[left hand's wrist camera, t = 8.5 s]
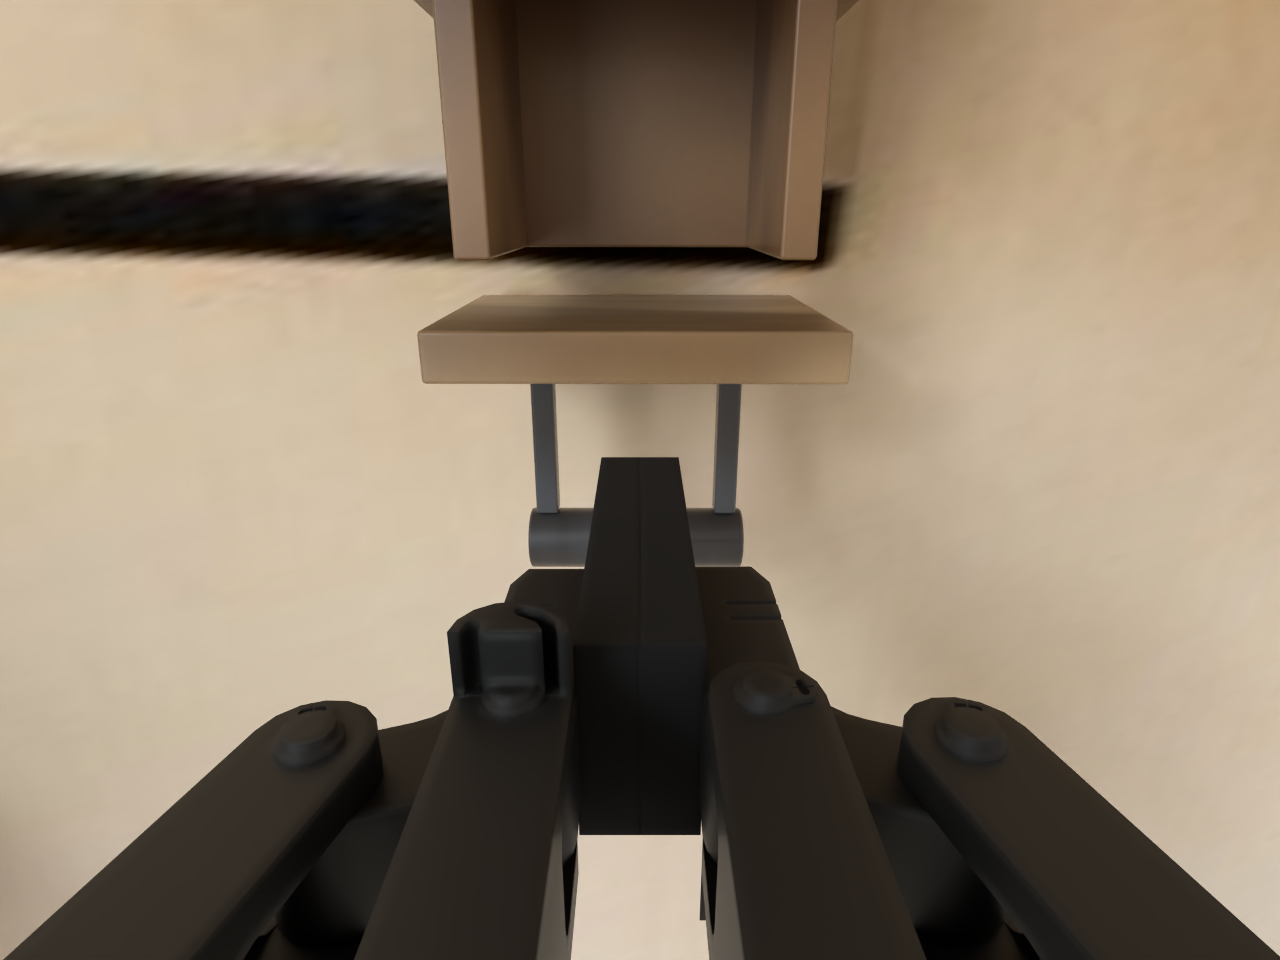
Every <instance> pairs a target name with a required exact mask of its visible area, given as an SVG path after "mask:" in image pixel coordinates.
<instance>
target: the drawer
mask: <svg viewBox="0 0 1280 960" xmlns="http://www.w3.org/2000/svg"><path fill="white" fill-rule="evenodd" d="M432 2H433V14H434V26H435V38H436V50H437V62H438V73H439V85H440V97H441V109H442V121H443V133H444V145H445V157H446V169H447V181H448V193H449V205H450V217H451V229H452V240H453V252H454V258H455V259H457V260H488V259H491V258H494V257H497V256H500V255H503V254H506V253H509V252H512V251H515V250H518V249H521V248H524V247H749V248H752V249H754V250H757V251H760V252H763V253H765V254H768V255H771V256H774V257H776V258H779V259H782V260H814V259H815V258H816V256H817V244H818V232H819V220H820V207H821V195H822V183H823V170H824V158H825V146H826V133H827V121H828V109H829V96H830V84H831V72H832V60H833V47H834V35H835V23H836V10H837V0H432ZM417 336H418V345H419V355H420V365H421V374H422V381H423V383H426V384H530V385H531V404H532V423H533V443H534V462H535V481H536V500H537V508H534V509H532V512H531V515H530V522H529V556H530V562H531V564H532V566H534V567H585V562H586V555H587V549H588V542H589V536H590V529H591V523H592V516H593V510H594V508H559V506H560V495H559V470H558V445H557V420H556V395H555V384H717V400H716V426H715V452H714V478H713V504H712V505H713V508H686V510H687V516H688V523H689V529H690V536H691V542H692V549H693V555H694V562H695V567H739V566H740V565H741V562H742V557H743V521H742V514H741V511H740V509H738V508H735V504H736V484H737V464H738V444H739V424H740V404H741V384H846V383H847V382H848V380H849V371H850V361H851V351H852V341H853V333H852V332H851V331H849V330H848V329H846V328H844V327H843V326H841V325H839V324H838V323H836V322H834V321H832V320H831V319H829V318H827V317H826V316H824V315H822V314H820V313H819V312H817V311H815V310H814V309H812V308H810V307H808V306H807V305H805V304H803V303H802V302H800V301H798V300H797V299H795V298H793V297H791V296H789V295H483V296H481V297H480V298H478V299H476V300H474V301H472V302H471V303H469V304H467V305H465V306H463V307H462V308H460V309H458V310H456V311H454V312H453V313H451V314H449V315H447V316H445V317H444V318H442V319H440V320H438V321H437V322H435V323H433V324H431V325H429V326H428V327H426V328H424V329H422V330H420V331H419V332H418V334H417Z"/></svg>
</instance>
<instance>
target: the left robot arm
mask: <svg viewBox="0 0 1280 960" xmlns="http://www.w3.org/2000/svg"><path fill="white" fill-rule="evenodd" d="M447 636H448V646H449V655H450V665H451V674H452V684H453V693H454V697H453V699H452V702H451V705H450V707H449V710H447V711H445V712H443V713H441V714H438V715H436V716H434V717H431V718H428V719H425V720H421V721H418V722H414V723H410V724H405V725H401V726H396V727H391V728H387V729H382V730H378V727H377V720H376V718H375V717H374V716H373V714H372V713H371V712H370V711H369V710H368V709H367V708H366V707H364V706H361V705H358V704H355V703H352V702H350V701H321V702H315V703H310V704H306V705H302V706H299V707H296V708H294V709H292V710H289V711H287V712H284V713H282V714H280V715H277V716H275V717H274V718H273V719H271V720H270V721H268V722H267V723H265V724H264V725H262V726H261V727H260V728H258V729H257V730H255V731H254V732H253V733H252V734H251V735H250V736H249V737H248V738H247V739H245V740H244V741H243V742H242V743H241V744H240V745H239V746H238V747H237V748H236V749H234V750H233V751H232V752H231V753H230V754H229V755H228V756H227V757H226V758H225V759H223V760H222V761H221V762H220V763H219V764H218V765H217V766H216V767H215V768H214V769H213V770H211V771H210V772H209V773H208V774H207V775H206V776H205V777H204V778H203V779H202V780H200V781H199V782H198V783H197V784H196V785H195V786H194V787H193V788H192V789H191V790H189V791H188V792H187V793H186V794H185V795H184V796H183V797H182V798H181V799H180V800H178V801H177V802H176V803H175V804H174V805H173V806H172V807H171V808H170V809H169V810H167V811H166V812H165V813H164V814H163V815H162V816H161V817H160V818H159V819H158V820H156V821H155V822H154V823H153V824H152V825H151V826H150V827H149V828H148V829H147V830H145V831H144V832H143V833H142V834H141V835H140V836H139V837H138V838H137V839H136V840H134V841H133V842H132V843H131V844H130V845H129V846H128V847H127V848H126V849H125V850H123V851H122V852H121V853H120V854H119V855H118V856H117V857H116V858H115V859H114V860H112V861H111V862H110V863H109V864H108V865H107V866H106V867H105V868H104V869H103V870H101V871H100V872H99V873H98V874H97V875H96V876H95V877H94V878H93V879H92V880H90V881H89V882H88V883H87V884H86V885H85V886H84V887H83V888H82V889H81V890H79V891H78V892H77V893H76V894H75V895H74V896H73V897H72V898H71V899H70V900H68V901H67V902H66V903H65V904H64V905H63V906H62V907H61V908H60V909H59V910H57V911H56V912H55V913H54V914H53V915H52V916H51V917H50V918H49V919H48V920H46V921H45V922H44V923H43V924H42V925H41V926H40V927H39V928H38V929H37V930H36V931H34V932H33V933H32V934H31V935H30V936H29V937H28V938H27V939H26V940H25V941H23V942H22V943H21V944H20V945H19V946H18V947H17V948H16V949H15V950H14V951H12V952H11V953H10V954H9V955H8V956H7V957H6V958H5V959H4V960H571V950H572V939H573V927H574V916H575V905H576V894H577V883H578V849H577V836H578V826H579V833H580V835H700V833H701V822H702V832H703V849H702V875H701V901H700V920H706V926H707V938H708V949H709V960H1280V956H1279V955H1277V954H1276V953H1275V952H1274V951H1273V950H1272V949H1271V948H1270V947H1269V946H1267V945H1266V944H1265V943H1264V942H1263V941H1262V940H1261V939H1260V938H1259V937H1257V936H1256V935H1255V934H1254V933H1253V932H1252V931H1251V930H1250V929H1249V928H1248V927H1246V926H1245V925H1244V924H1243V923H1242V922H1241V921H1240V920H1239V919H1238V918H1236V917H1235V916H1234V915H1233V914H1232V913H1231V912H1230V911H1229V910H1228V909H1226V908H1225V907H1224V906H1223V905H1222V904H1221V903H1220V902H1219V901H1218V900H1216V899H1215V898H1214V897H1213V896H1212V895H1211V894H1210V893H1209V892H1208V891H1206V890H1205V889H1204V888H1203V887H1202V886H1201V885H1200V884H1199V883H1198V882H1197V881H1195V880H1194V879H1193V878H1192V877H1191V876H1190V875H1189V874H1188V873H1187V872H1185V871H1184V870H1183V869H1182V868H1181V867H1180V866H1179V865H1178V864H1177V863H1175V862H1174V861H1173V860H1172V859H1171V858H1170V857H1169V856H1168V855H1167V854H1165V853H1164V852H1163V851H1162V850H1161V849H1160V848H1159V847H1158V846H1157V845H1156V844H1154V843H1153V842H1152V841H1151V840H1150V839H1149V838H1148V837H1147V836H1146V835H1144V834H1143V833H1142V832H1141V831H1140V830H1139V829H1138V828H1137V827H1136V826H1134V825H1133V824H1132V823H1131V822H1130V821H1129V820H1128V819H1127V818H1126V817H1124V816H1123V815H1122V814H1121V813H1120V812H1119V811H1118V810H1117V809H1116V808H1115V807H1113V806H1112V805H1111V804H1110V803H1109V802H1108V801H1107V800H1106V799H1105V798H1103V797H1102V796H1101V795H1100V794H1099V793H1098V792H1097V791H1096V790H1095V789H1093V788H1092V787H1091V786H1090V785H1089V784H1088V783H1087V782H1086V781H1085V780H1083V779H1082V778H1081V777H1080V776H1079V775H1078V774H1077V773H1076V772H1075V771H1074V770H1072V769H1071V768H1070V767H1069V766H1068V765H1067V764H1066V763H1065V762H1064V761H1062V760H1061V759H1060V758H1059V757H1058V756H1057V755H1056V754H1055V753H1054V752H1052V751H1051V750H1050V749H1049V748H1048V747H1047V746H1046V745H1045V744H1044V743H1042V742H1041V741H1040V740H1039V739H1038V738H1037V737H1036V736H1035V735H1034V734H1033V733H1031V732H1030V731H1029V730H1028V729H1027V728H1026V727H1025V726H1023V725H1022V724H1020V723H1019V722H1017V721H1016V720H1015V719H1013V718H1012V717H1010V716H1009V715H1007V714H1006V713H1004V712H1002V711H1000V710H997V709H995V708H992V707H990V706H988V705H985V704H983V703H980V702H976V701H972V700H966V699H961V698H956V697H947V698H930V699H927V700H924V701H922V702H919V703H916V704H914V705H913V706H912V707H911V708H910V709H909V710H908V712H907V713H906V714H905V715H904V720H903V727H899V726H894V725H890V724H885V723H880V722H876V721H871V720H866V719H863V718H859V717H856V716H853V715H849V714H846V713H844V712H842V711H840V710H838V709H836V708H833V707H831V706H830V703H829V701H828V698H827V696H826V694H825V692H824V691H823V690H822V688H821V687H820V685H819V684H818V682H817V681H815V680H814V679H813V678H811V677H810V676H808V675H807V674H805V673H804V672H802V671H801V670H800V669H799V666H798V663H797V660H796V657H795V654H794V651H793V648H792V646H791V643H790V640H789V637H788V634H787V631H786V628H785V625H784V622H783V620H781V614H780V611H779V608H778V605H777V604H776V599H775V597H774V594H773V591H772V588H771V585H770V582H769V581H767V580H766V579H765V578H764V577H763V576H761V575H760V574H759V573H758V572H757V571H756V570H754V569H753V568H752V567H695V562H694V555H693V549H692V542H691V536H690V529H689V523H688V516H687V510H686V503H685V497H684V491H683V484H682V478H681V471H680V465H679V458H678V457H602V458H601V465H600V471H599V478H598V484H597V491H596V497H595V503H594V510H593V516H592V523H591V529H590V536H589V542H588V549H587V555H586V562H585V568H584V569H529V570H527V571H526V572H525V573H524V574H523V575H522V576H520V577H519V578H518V579H517V580H516V581H514V582H513V583H512V584H511V585H510V588H509V591H508V594H507V597H506V600H505V602H504V603H496V604H492V605H489V606H485V607H482V608H479V609H476V610H473V611H471V612H470V613H468V614H466V615H465V616H463V617H461V618H459V619H458V620H457V621H456V622H455V623H454V624H453V625H452V627H451V628H450V629H449V630H448V632H447Z"/></svg>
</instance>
